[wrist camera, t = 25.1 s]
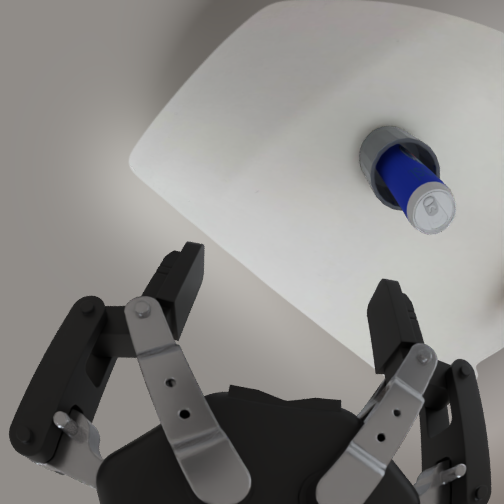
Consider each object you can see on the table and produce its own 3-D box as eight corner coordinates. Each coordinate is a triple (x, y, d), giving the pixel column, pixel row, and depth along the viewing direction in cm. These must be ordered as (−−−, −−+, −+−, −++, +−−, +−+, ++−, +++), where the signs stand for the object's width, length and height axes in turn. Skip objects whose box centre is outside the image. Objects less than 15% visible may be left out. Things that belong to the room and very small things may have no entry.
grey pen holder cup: (364, 120, 32) (378, 130, 27) (425, 134, 32) (447, 148, 26) (354, 182, 38) (363, 204, 32) (411, 192, 37) (428, 215, 31)
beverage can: (415, 165, 33) (465, 219, 21) (386, 184, 36) (423, 246, 24) (396, 134, 32) (446, 175, 20) (365, 155, 34) (400, 206, 22)
